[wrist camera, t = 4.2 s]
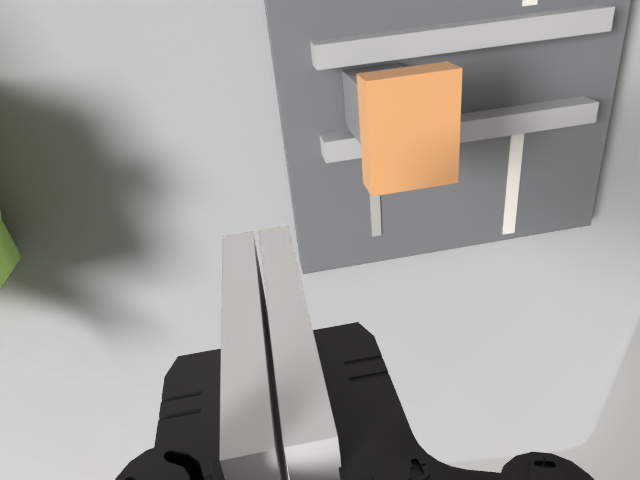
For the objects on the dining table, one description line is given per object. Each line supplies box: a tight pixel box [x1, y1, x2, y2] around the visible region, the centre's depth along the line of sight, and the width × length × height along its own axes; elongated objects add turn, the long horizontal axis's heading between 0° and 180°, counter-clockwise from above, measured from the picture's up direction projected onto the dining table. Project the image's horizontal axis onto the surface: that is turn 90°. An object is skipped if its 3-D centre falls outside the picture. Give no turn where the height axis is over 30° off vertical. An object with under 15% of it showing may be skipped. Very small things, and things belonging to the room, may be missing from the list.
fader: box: [342, 61, 462, 197], centre depth 25 cm, size 4×5×8 cm
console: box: [264, 0, 631, 274], centre depth 29 cm, size 20×22×3 cm
